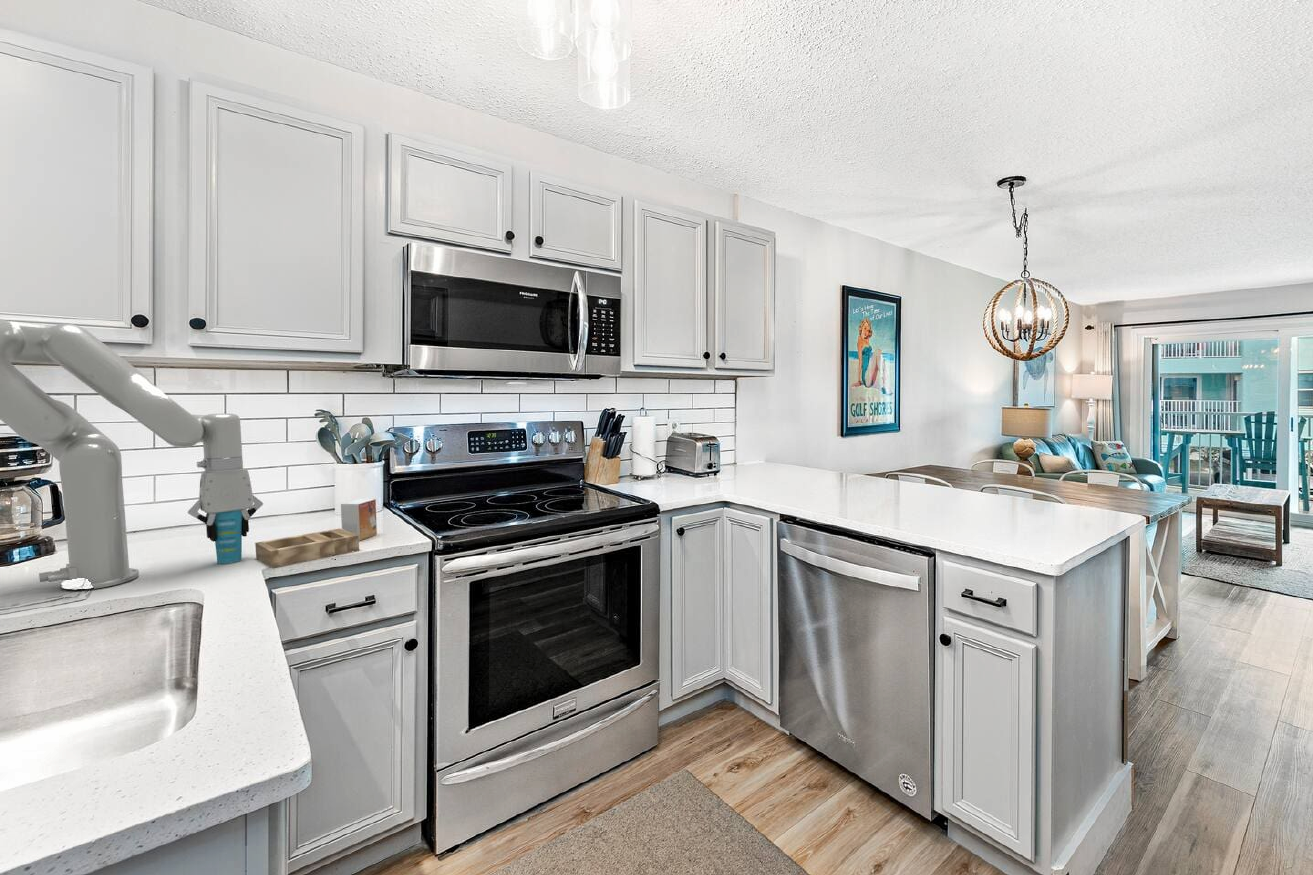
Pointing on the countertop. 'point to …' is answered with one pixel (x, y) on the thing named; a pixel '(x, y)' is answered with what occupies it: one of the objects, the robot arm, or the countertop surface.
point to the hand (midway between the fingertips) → (228, 537)
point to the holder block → (306, 547)
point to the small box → (359, 517)
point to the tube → (228, 536)
